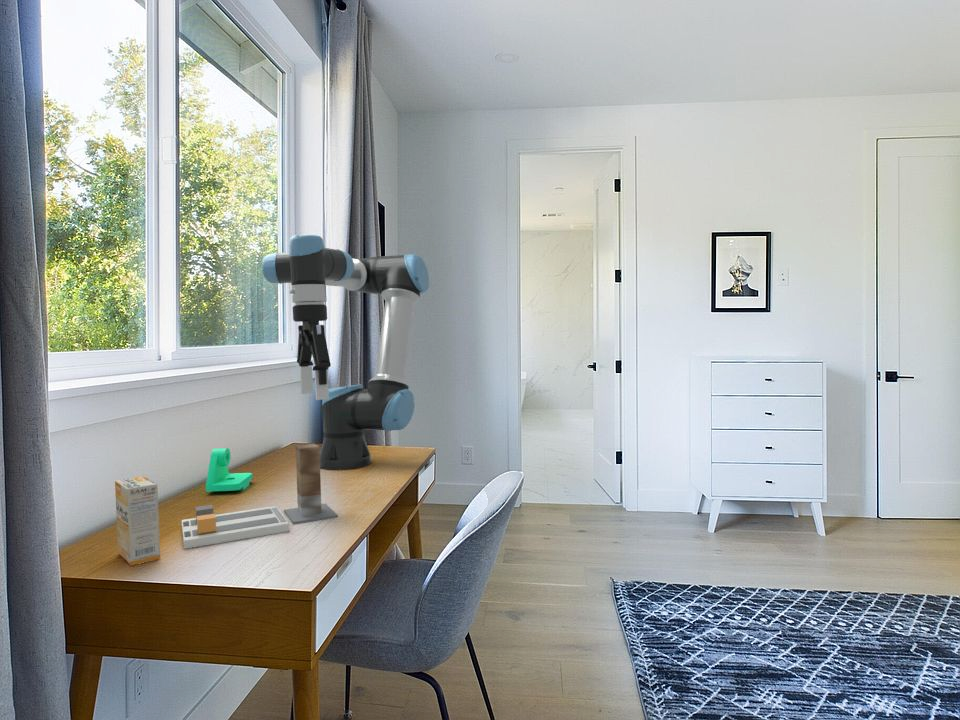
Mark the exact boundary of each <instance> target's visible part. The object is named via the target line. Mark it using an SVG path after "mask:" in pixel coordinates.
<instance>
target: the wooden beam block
mask: <svg viewBox="0 0 960 720" xmlns="http://www.w3.org/2000/svg"><path fill="white" fill-rule="evenodd" d="M320 451H321V448H320V446H319V445H317V444H316V443H312V444H311V443H310V444H301V445H295V458H296V459H295V460H296V461H295V464H296V466H295V468H296V492H297V493H296V495H297V508H298V512H299V513H300V515H301V516H307V515H314V514H320V513H322V512H321V504H322V492H321V491H322V487H321V484H322V483H321V468H320Z"/></svg>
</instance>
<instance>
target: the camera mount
mask: <svg viewBox="0 0 960 720" xmlns="http://www.w3.org/2000/svg"><path fill="white" fill-rule="evenodd" d="M230 463H231V450H230V449H229V448H228V447H227V448H225V447H223V448H213V449H212V450H211V454H210V459H209V464H208V465H209V466H208V471H207V477H206V482H205V492H229V491H230V492H231V491H232V492H233V491H245V490H246V489H247V488H248V487H250V482H251V481H252V480H253V478H254V477H253V473H252V472H237V473H235V472H233V473H232V472H231V473H230V471H229V468H228V466H230Z"/></svg>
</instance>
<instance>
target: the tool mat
mask: <svg viewBox="0 0 960 720" xmlns="http://www.w3.org/2000/svg"><path fill="white" fill-rule="evenodd" d="M321 512H322V513H320V514H314V515H307V516H301V515H300V513H299V512H298V507H295V508H288V509H283V513H284V515H286V516H287V518H288V519H289V521H290V522H291V524H292V525H297V524H302V523H309V522H315V521H321V520H327V519H333V518H338V517H339V515H338V514H337V513H336V511H334V510H333V509H332V508H331V507H330V506H329V505H328V504H327V503H321Z"/></svg>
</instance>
